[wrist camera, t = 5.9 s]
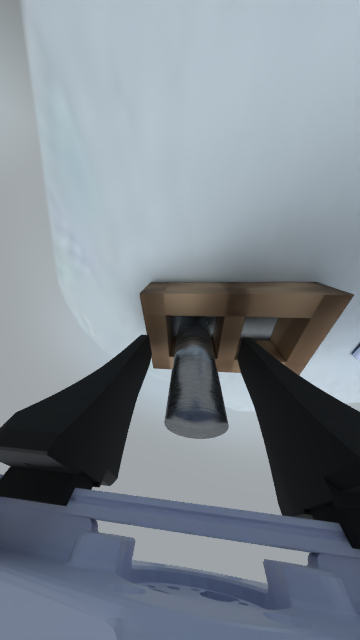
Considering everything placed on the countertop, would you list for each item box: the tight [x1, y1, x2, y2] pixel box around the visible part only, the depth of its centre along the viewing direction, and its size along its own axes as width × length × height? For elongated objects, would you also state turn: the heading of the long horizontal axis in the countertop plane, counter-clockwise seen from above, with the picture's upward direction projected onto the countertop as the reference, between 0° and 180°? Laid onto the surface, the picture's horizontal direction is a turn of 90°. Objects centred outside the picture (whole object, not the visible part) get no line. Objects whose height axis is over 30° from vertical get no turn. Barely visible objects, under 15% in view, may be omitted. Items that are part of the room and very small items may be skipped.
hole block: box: [140, 282, 354, 375], centre depth 12 cm, size 14×8×3 cm, turn 91°
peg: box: [165, 316, 228, 439], centre depth 10 cm, size 3×3×9 cm
